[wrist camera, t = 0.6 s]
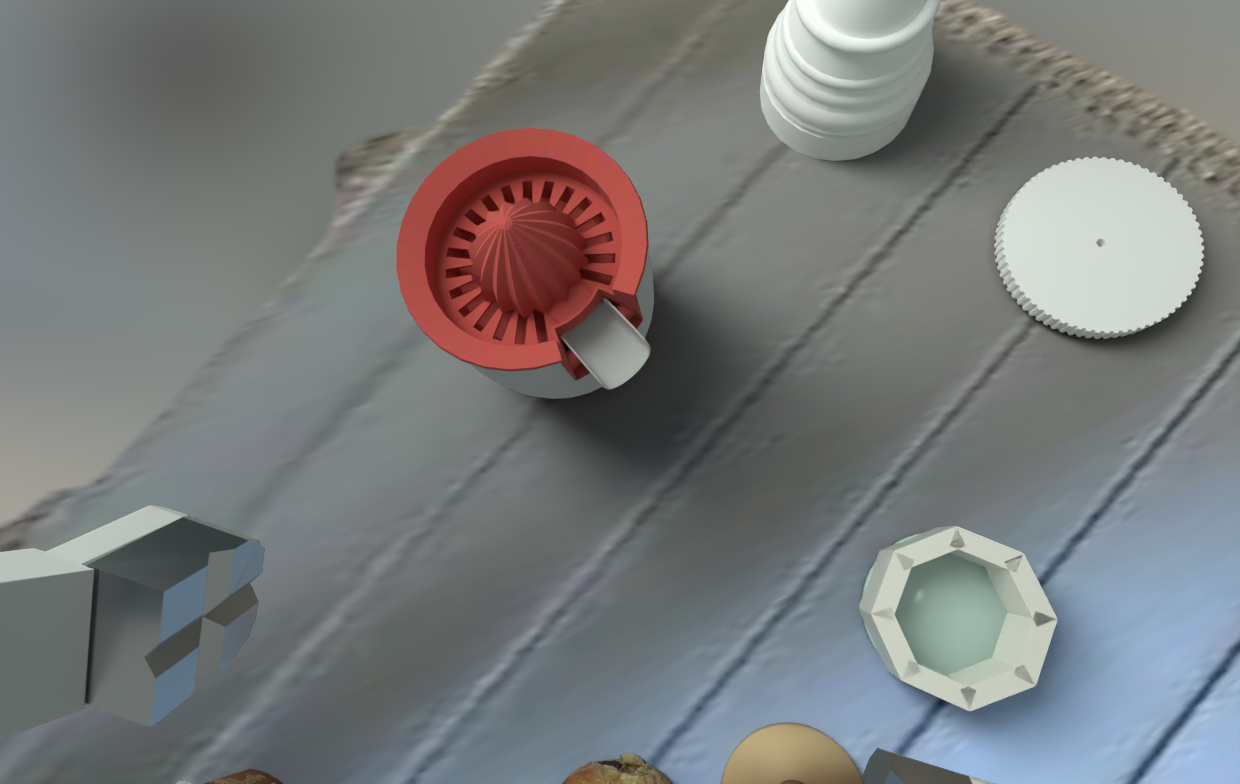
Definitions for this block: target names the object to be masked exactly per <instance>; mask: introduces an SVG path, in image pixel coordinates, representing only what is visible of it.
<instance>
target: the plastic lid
mask: <svg viewBox="0 0 1240 784" xmlns="http://www.w3.org/2000/svg"><path fill="white" fill-rule="evenodd" d="M1163 180H1164V178H1162V177H1157V176H1156V173H1154V172H1153V173H1150V172H1149V169H1147V168H1145V169H1142V168H1141V166H1140V165H1136V166H1135V165H1132V162H1128V163H1125V162H1124V160H1119V161H1116V160H1115V158H1111V159H1110V160H1109V159H1106V157H1102V158H1101V159H1098V158H1097V157H1093V158H1092V159H1089V157H1085V158H1084V159H1082V160H1081V159H1080V158H1076V159H1075V160H1074V161H1072V160H1068V161H1067V162H1066V163H1064V162H1061V163H1059V164H1058V165H1057V166H1056V165H1053V166H1051V168H1050V169H1048V168H1046V169H1045V170H1044V171H1043V172H1042V173H1041V172H1040V173H1038V174H1037V175H1036V176H1035V177H1032V178H1031V179H1030V180H1029V182H1027V183H1026V184H1025V185H1024V186H1023V187H1022V188H1021V189H1020V190H1019V191H1018V192H1017V193H1016V195H1015V196H1014V197H1013V198H1012V200H1011V201H1010V202H1009V203H1008V204H1007V205H1008V206H1007V207H1006V208H1005V209H1004V211H1003V212H1004V213H1003V214H1002V215H1001V217H1000V219H1001V220H1000V221H999V222H998V226H999V227H998V228H997V229H996V233H997V235H996V236H995V240H996V243H995V244H994V247H995V248H996V251H995V252H994V253H995V255H997V258H996V259H995V261H996V263H998V265H999V266H998V267H997V269H998V270H1000V271H1001V273H1000V277H1001V278H1003V279H1004V281H1003V284H1004V285H1007V287H1008V288H1007V291H1008V292H1011V293H1012V295H1011V296H1012V298H1016V299H1017V304H1018V305H1020V304H1021V305H1022V306H1023V308H1022V309H1023V310H1024V311H1026V310H1027V311H1029V315H1030V316H1033V315H1034V316H1035V317H1036V320H1037V321H1040V320H1041V321H1043V324H1044V325H1046V326H1047V325H1050V326H1051V328H1052V329H1056V328H1057V329H1059V332H1062V333H1063V332H1068V335H1073V334H1076V336H1077V337H1082V336H1085V338H1091V337H1094V338H1095V339H1099V338H1101V337H1103V339H1107V338H1109V337H1112V338H1116V337H1118V336H1121V337H1122V336H1126V335H1128V334H1133V333H1135V332H1137V331H1138V332H1139V331H1141V330H1143V329H1145V328H1147V327H1150V326H1152V325H1154V324H1156V323H1158V322H1160V321H1161V320H1163V319H1165V318H1167V317H1168V316H1169V315H1170V314H1172V313H1174V312H1175V309H1177V308H1179V307H1180V306H1181V303H1183V302H1185V301H1186V300H1187V298H1186V297H1187V296H1189V295H1191V293H1192V292H1191V290H1192V289H1194V288H1195V286H1196V285H1195V284H1194V283H1195V282H1197V281H1198V280H1199V277H1198V275H1199V274H1200V273H1201V271H1202V270H1201V269H1200V267H1201V266H1203V262H1202V261H1201V259H1202V258H1204V254H1202V251H1203V250H1204V246H1202V245H1201V243H1202V242H1203V238H1201V237H1200V235H1201V234H1202V232H1201V230H1199V229H1198V227H1199V226H1200V225H1199V223H1198V222H1196V221H1195V219H1196V215H1193V214H1192V211H1193V210H1192V208H1189V207H1188V206H1187V204H1188V202H1187V201H1184V200H1183V199H1182V197H1183V196H1182V195H1181V194H1178V193H1177V189H1176V188H1172V187H1171V186H1170V185H1171V184H1170V183H1169V182H1167V183H1166V182H1164V181H1163Z"/></svg>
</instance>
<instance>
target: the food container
mask: <svg viewBox="0 0 1240 784" xmlns="http://www.w3.org/2000/svg"><path fill="white" fill-rule="evenodd" d="M176 784H193V783H189V782H183V781H179V782H177V783H176ZM204 784H283V783H281V782H280V781H279V780H278V779H277V778H275V777H273V776H271V775H270V774H268V773H265V772H262V771H259V770H253V769H248V770H245V771H242V772H239V773H235V774H232V775H229V776H226V777H223V778H220V779H216V780H213V781H210V782H207V783H204Z"/></svg>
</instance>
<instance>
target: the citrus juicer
mask: <svg viewBox="0 0 1240 784" xmlns="http://www.w3.org/2000/svg"><path fill="white" fill-rule="evenodd" d="M397 274H398V279H399V284H400V290H401V293H402V296H403V298H404V300H405V303H406V305H407V308H408V310H409V312H410V314H411V316H412V317H413V318H414V320H415V321H416V323H417V324H418V326H419V327H420V329H421V330H422V331H423V333H424V334H426V335H427V336H428V337H429V338H430V339H431V340H432V341H433V342H434V343H435V344H436V345H437V346H438V347H440V348H441V349H442V350H444V351H446V352H448V353H449V354H451V355H453V356H454V357H456V358H458V359H459V360H461V361H464V362H467V363H469V364H470V365H472V366H473V367H474V368H476V369H477V370H478V371H480V372H481V373H482V374H484V375H485V376H487V377H489V378H490V379H492V380H494V381H495V382H497V383H499V384H500V385H502V386H504V387H506V388H508V389H510V390H513V391H516V392H519V393H522V394H525V395H527V396H534V397H542V398H550V399H558V398H572V397H577V396H581V395H585V394H588V393H592V392H594V391H596V390H598V389H600V388H602V387H604V388H605V389H607V390H610V389H614V388H616V387H618V386H620V385H622V384H623V383H625V382H626V381H628V380H629V379H630V378H631V377H632V376H634V375H635V374H636V373H637V372H638V371H639V370H640V368H641V367H642V366H643V365H644V363H645V362H646V360H647V359H648V357H649V355H650V351H651V349H650V345H649V343H648V342H647V341H646V339H645V337H646V334H647V332H648V329H649V326H650V323H651V320H652V313H653V306H654V287H653V272H652V267H651V262H650V257H649V253H648V229H647V220H646V216H645V213H644V209H643V205H642V202H641V199H640V197H639V195H638V193H637V191H636V189H635V187H634V185H633V184H632V182H631V180H630V178H629V177H628V176H627V175H626V173H625V172H624V171H623V170H622V169H621V167H620V166H619V165H618V164H617V163H616V161H614V160H613V159H612V158H611V157H609V156H608V155H607V154H605V153H604V152H603V151H602V150H600V149H599V148H598V147H596V146H594V145H592V144H590V143H588V142H586V141H584V140H582V139H580V138H578V137H576V136H574V135H570V134H566V133H562V132H559V131H555V130H548V129H535V128H525V129H516V130H507V131H502V132H499V133H496V134H492V135H489V136H485V137H482V138H480V139H478V140H476V141H474V142H472V143H470V144H468V145H466V146H464V147H462V148H460V149H459V150H457V151H456V152H455V153H453V154H452V155H451V156H449V157H448V158H447V159H445V160H444V161H442V162H441V163H440V164H439V165H438V166H437V167H436V168H435V169H434V170H433V171H432V173H431V174H430V175H429V176H428V177H427V178H426V179H425V180H424V181H423V183H422V184H421V186H420V187H419V189H418V190H417V192H416V193H415V195H414V196H413V198H412V199H411V201H410V204H409V206H408V209H407V211H406V213H405V216H404V218H403V220H402V224H401V228H400V233H399V237H398V242H397Z"/></svg>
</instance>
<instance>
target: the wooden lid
mask: <svg viewBox="0 0 1240 784" xmlns="http://www.w3.org/2000/svg"><path fill="white" fill-rule="evenodd" d="M721 784H863V781H862V778H861V776H860V774H859V772H858V770H857V768H856V766H855V765H854V763H853V762H852V760H851V759H850V757H849V756H848V754H847V753H846V752H845V751H844V749H843V748H842V747H841V746H840V745H839V744H838V743H837V742H835V741H834V740H833V739H832V738H830V737H829V736H828V735H826V734H824V733H823V732H821V731H819V730H817V729H815V728H812V727H810V726H806V725H802V724H797V723H777V724H771V725H768V726H765V727H762V728H760V729H758V730H756V731H754V732H753V733H751V734H750V735H748V736H747V737H746V738H745V739H743V740H742V741H741V742H740V743H739V745H738V746H737V747H736V748H735V749H734V751H733V752H732V754H731V756H730V757H729V759H728V762H727V764H726V766H725V769H724V772H723V776H722V782H721Z"/></svg>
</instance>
